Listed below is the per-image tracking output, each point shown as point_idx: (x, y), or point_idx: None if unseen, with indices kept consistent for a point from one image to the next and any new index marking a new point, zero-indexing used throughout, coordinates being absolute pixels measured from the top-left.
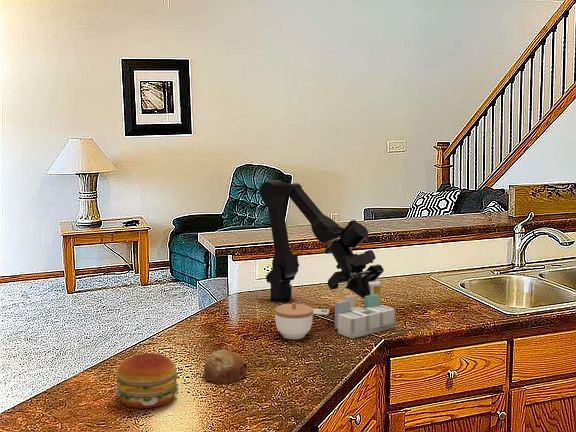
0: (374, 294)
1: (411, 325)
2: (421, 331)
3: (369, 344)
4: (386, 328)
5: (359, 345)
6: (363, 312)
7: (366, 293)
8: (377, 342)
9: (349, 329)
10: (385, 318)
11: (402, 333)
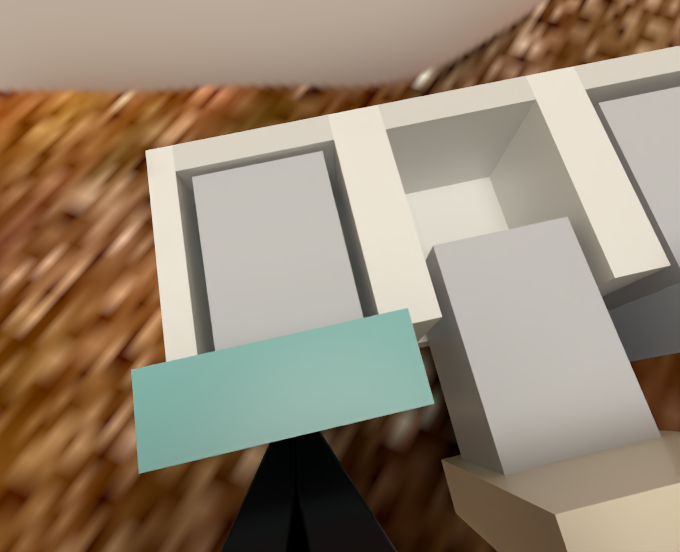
0: (187, 435)
1: (64, 233)
2: (106, 106)
3: (550, 33)
4: None
5: (616, 39)
6: (508, 232)
7: (338, 505)
8: (488, 44)
9: None
10: None
11: (244, 118)
